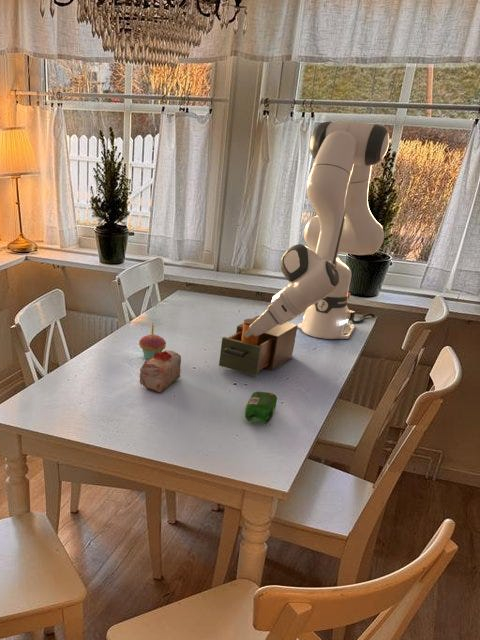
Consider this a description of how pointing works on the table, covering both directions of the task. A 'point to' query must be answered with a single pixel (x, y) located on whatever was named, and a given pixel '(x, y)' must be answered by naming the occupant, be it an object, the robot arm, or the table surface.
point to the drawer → (246, 354)
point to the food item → (160, 370)
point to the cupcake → (152, 344)
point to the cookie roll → (252, 338)
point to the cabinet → (279, 342)
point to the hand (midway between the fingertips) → (248, 332)
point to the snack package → (260, 407)
